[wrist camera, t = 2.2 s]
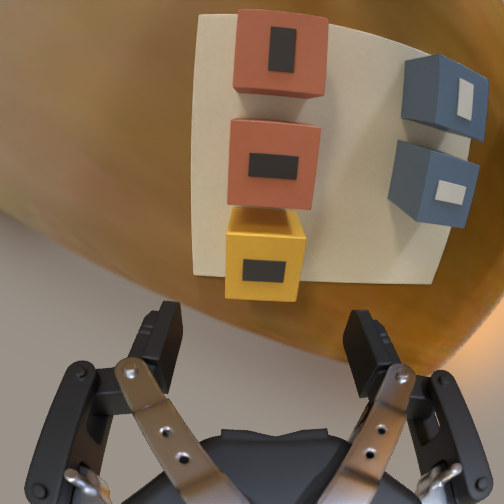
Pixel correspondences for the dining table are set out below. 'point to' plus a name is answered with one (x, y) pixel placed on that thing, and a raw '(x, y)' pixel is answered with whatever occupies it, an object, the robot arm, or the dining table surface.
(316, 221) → the board
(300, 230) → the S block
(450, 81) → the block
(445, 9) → the dining table surface
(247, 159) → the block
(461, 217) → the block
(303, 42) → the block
